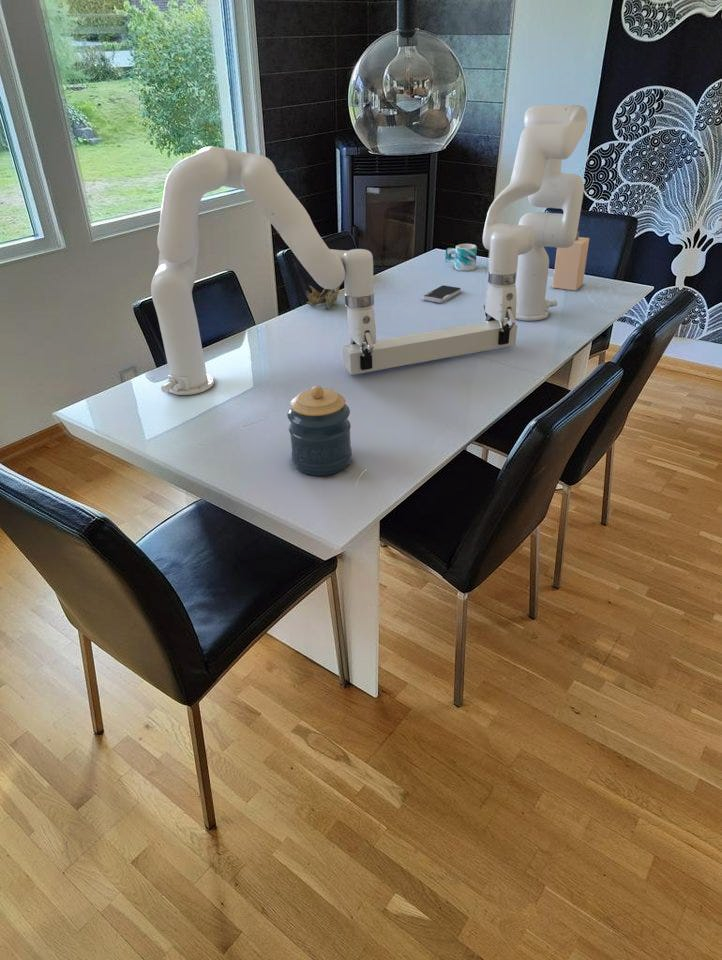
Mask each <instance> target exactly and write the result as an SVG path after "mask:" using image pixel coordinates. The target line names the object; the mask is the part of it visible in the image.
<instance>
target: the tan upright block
mask: <svg viewBox="0 0 722 960" xmlns="http://www.w3.org/2000/svg"><path fill="white" fill-rule="evenodd" d="M589 244H590V237H582V236H580V230H577V235H576V239H575V241H574V243H573V245H572V246H570V247H568V248H557V247H556V254H555V260H554V261H555V262H554V270H553V277H552V278H553V279H552V289H559V290H560V289H561V290H568V291H575V292H576V291H577V290H578V289H580V287H581V286H582V285H583V284H584V278H585V273H586V272H585V271H586V265H587V257H588V251H589Z"/></svg>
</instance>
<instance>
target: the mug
mask: <svg viewBox="0 0 722 960" xmlns="http://www.w3.org/2000/svg"><path fill="white" fill-rule="evenodd" d="M477 249H478V246H477V245H476V244H472V243H460V244H457V245H455V248H454V247H453V248H452V247H448V248H446V249H445V263H451V264H454V268H455V270H457V271H465V272H466V271H467V272H468V271H473V270H475V269H476V268H477V254H478V253H477V252H478V250H477ZM452 255H455V256H452Z"/></svg>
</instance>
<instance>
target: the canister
mask: <svg viewBox="0 0 722 960" xmlns="http://www.w3.org/2000/svg"><path fill="white" fill-rule="evenodd" d="M350 414H351V409H350V407H349V406H348V404H346V399H345V396H343V395H342V394H340V393H338V392H337V391H335V390H333V389H329V388H323V387H321V386H319V385H314V386H312V387H311V388H310V389H307V390H304V391H302V392H300V393H299V394H297V395H296V396H295V397H293V398H292V399H291V401H290V408H289V409H288V411H287V419H288V421H289V422H290V424H289V426H288V432H289V435H290V446H291V460H292V462H293V465H294V467H295V468H296V470H298V471H299V472H301V473H303V474H305V475H311V476H328V475H329V476H330V475H334V474H338V473H339V472H341V471H343V470H345V469H346V468H347V467H349V465H350V463H351V461H352V457H353V449H352V445H351V443H352V442H351V421H350V420H349V416H350Z"/></svg>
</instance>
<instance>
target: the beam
mask: <svg viewBox="0 0 722 960" xmlns="http://www.w3.org/2000/svg"><path fill="white" fill-rule="evenodd" d="M504 320H507V319H506V318H504ZM503 324H504V326H505V325H506V324H507V322H503ZM499 331H501V329H500V322H499V321H498V320H494V321H488V322H486V321H483V322H477V323H471V324H465V325H460V326H453V327H448V328H441V329H436V330H431V331H424V332H418V333H412V334H411V333H410V334H407V335H406V334H405V335H400V336H395V337H389V338H383V339H376V343H375V344H373V347H374V348H373V351H372V369H367V370H361V366H360V356H362V355H361V350H360V346H359V345H358V344H352V345H351V344H348V345H342V359H343V360H342V361H343V363H342V364H343V368H344V369H345V370H346V371H347V372H348V373H349V375H351V376H354V375H359V374H364V373H370V372H375V371H380V370H385V369H386V370H387V369H393V368H397V367H402V366H407V365H413V364H419V363H425V362H431V361H436V360H442V359H446V358H452V357H457V356H458V357H459V356H463V355H469V354H473V353H479V352H484V351H490V350H495V349H496V350H497V349H501V348H506V347H512V346H516V343H517V331H518V325H517V324H516V323H515V324H514V325H513V327H512V328H511V331H510V335H509V343H508V344H503V345H499V344H498V339H499ZM362 344H366V342H362ZM363 348H364V350H365V349H367V346H365V347H363Z"/></svg>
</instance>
